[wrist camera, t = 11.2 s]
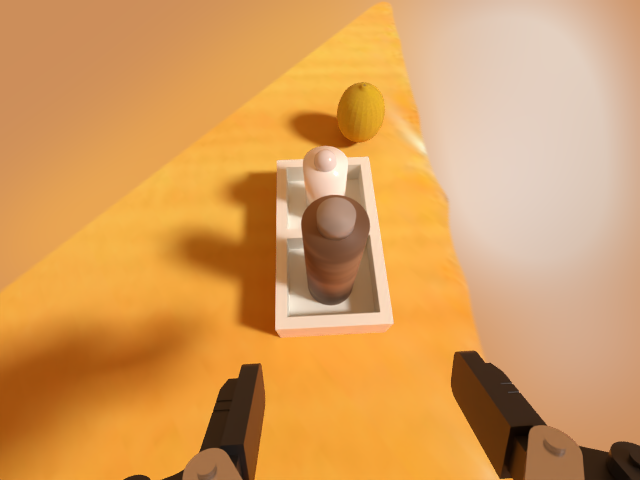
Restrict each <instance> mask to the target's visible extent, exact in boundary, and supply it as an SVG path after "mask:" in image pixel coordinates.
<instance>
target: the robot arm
mask: <svg viewBox="0 0 640 480" xmlns="http://www.w3.org/2000/svg"><path fill="white" fill-rule="evenodd" d="M451 388H452V392H453V395H454V397H455V399H456V401H457V403H458V405H459V406H460V408H461V410H462V412H463V414H464V415H465V417H466V419H467V421H468V423H469V424H470V426H471V428H472V430H473V432H474V433H475V435H476V437H477V439H478V441H479V442H480V444H481V446H482V448H483V449H484V451H485V453H486V455H487V457H488V458H489V460H490V462H491V464H492V466H493V467H494V469H495V471H496V473H497V475H498V476H499V478H500V479H505V478H513V480H640V446H639V445H636V444H633V443H629V442H616V443H614V444H613V445H612V446H611V449H610V451H609V452H604V451H600V450H595V449H590V448H585V447H581V446H578V445H577V444H576V442H575V441H574V440H573V439H571V438H570V437H569V436H568V435H567V434H565V433H564V432H562V431H560V430H558V429H556V428H553V427H550V426H547V425H546V424H545V422H544V421H543V420H542V419H541V417H540V416H539V415H538V414H537V413H536V411H535V410H534V409H533V408H532V406H531V405H530V404H529V403H528V402H527V400H526V399H525V398H524V397H523V396H522V394H521V393H519V391H518V389H517V388H516V387H515V386H514V385H513V384H512V382H511V381H510V380H509V378H508V377H507V376H506V375H505V374H504V373H503V372H502V371H501V370H500V369H498V368H497V367H496V366H494V365H493V364H491V363H485V362H484V361H483V360H482V358H481V357H480V356H479V354H478V353H477V352H476V351H461V352H455V354H454V360H453V368H452V377H451ZM264 410H265V390H264V382H263V374H262V366H261V364H260V363H259V364H243V365H242V366H241V370H240V374H239V377H238V378H236V379H228V380H227V382H226V383H225V384H224V385H223V386H222V388H221V389H220V391H219V394H218V397H217V401H216V404H215V407H214V410H213V413H212V416H211V419H210V422H209V425H208V428H207V431H206V434H205V437H204V440H203V443H202V446H201V449H200V451H199V453H198V454H197V455H195V456H194V457H193V458H192V459H191V460H190V461H189V463H188V464H187V466H186V468H185V469H184V470H183V471H181V472H179V473H177V474H175V475H173V476H170V477H168V478H165V479H162V480H254V479H255V472H256V465H257V458H258V451H259V444H260V437H261V431H262V424H263V417H264ZM124 480H150V478H148V477H147V476H144V475H134V476H131V477H128V478H126V479H124Z"/></svg>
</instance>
